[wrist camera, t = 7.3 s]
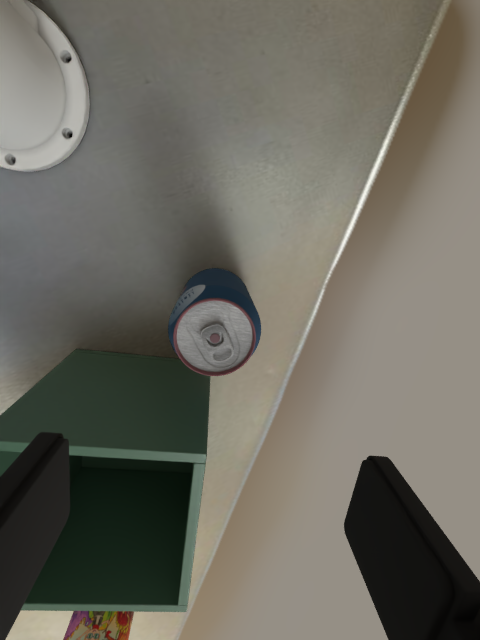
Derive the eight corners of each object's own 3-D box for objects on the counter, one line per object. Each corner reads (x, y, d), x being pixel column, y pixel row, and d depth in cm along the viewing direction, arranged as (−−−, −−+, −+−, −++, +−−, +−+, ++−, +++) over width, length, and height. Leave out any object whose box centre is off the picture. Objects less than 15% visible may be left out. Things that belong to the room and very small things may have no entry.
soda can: (171, 281, 32) (146, 313, 21) (233, 256, 32) (242, 273, 20) (199, 339, 34) (190, 397, 23) (257, 315, 34) (278, 362, 22)
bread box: (211, 361, 35) (206, 454, 21) (197, 473, 39) (186, 612, 25) (76, 348, 33) (-28, 439, 19) (77, 466, 38) (-6, 610, 24)
